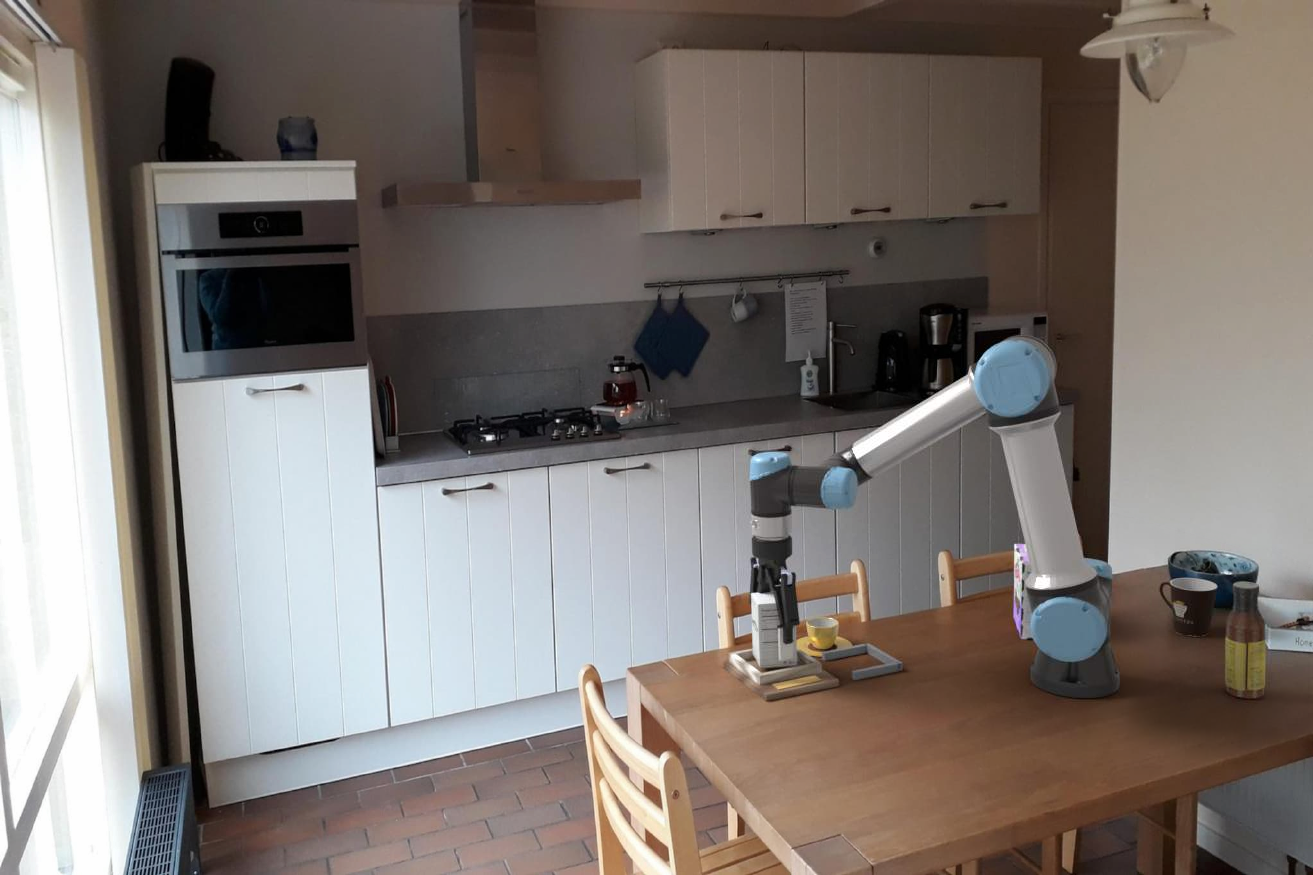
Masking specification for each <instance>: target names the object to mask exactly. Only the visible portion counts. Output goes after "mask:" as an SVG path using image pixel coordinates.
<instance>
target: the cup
mask: <svg viewBox="0 0 1313 875" xmlns="http://www.w3.org/2000/svg"><path fill="white" fill-rule="evenodd" d="M805 624H806V631H807V635H808V636H807V635H806V636H804V637H801V638H799V639H796V642H797V648H799V649H800V650H802V651H803V652H805V653H806V654H808V655H809V656H811V657H819V658H820V657H821V658H822V652H823V651H817V650H816V651H815V650H812V649H810V648H809V645H810V644H812V645H813V647H814V648H815V649H818V650H829V649H831V648H832V647H833V646H834V645H835V646H836V649H840V648H845V647H850V646H854V645H853V643H852V642H851V641H849V640H848V639H846V638H843V637H840V636H838V632H839V624H840V621H838V619H835V618H832V617H829V616H828V617H826V616H816V617H812V618H809V619H807V620H806V621H805Z"/></svg>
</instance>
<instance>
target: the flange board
mask: <svg viewBox="0 0 1313 875" xmlns="http://www.w3.org/2000/svg"><path fill="white" fill-rule="evenodd" d="M722 663H723V664H722V665H723V669H724V670H726V671H727V672H728V673H730V674H731V675H732V676H733V677H735V678H736V679H737V680H738V681H740V682H741V683H742V684H744V685H745V686H746V687H747V686H748V687H747V688H749V689H750V690H752V692H754V693H755V694H757V696H759V697H760V698H761V699H762V700H764V701H766V702H770V701H774V700H778V699H784V698H788V697H792V696H793V695H794V696H798V695H803V694H807V692H808V693H812V692H816V691H823V690H826V689H832V688H836V687H839V686H840V680H839V678H837V677H835V676H834V675H833V674H830V673H829V672H827V671H826V670H825V669H823V668H822V666H823V665H822V663H821V662H820V661H819V660H817V659H815V658H814V657H813V656H810V655H808V654H806V653H805V652H803V651H802V650H800V649H799V648H797V665H795V666H784V667H770V668H760V666H759V664H758V662H757V660H756V658H755V657H754V655H753V647H752V648H748V649H743V650H736V651H731V652H728V660H726V661H722ZM794 696H793V697H794Z"/></svg>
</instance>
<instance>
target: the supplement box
mask: <svg viewBox="0 0 1313 875" xmlns="http://www.w3.org/2000/svg"><path fill="white" fill-rule="evenodd" d="M777 625H780V621H779V616H778V612H777V607H776V603H775V598H774V593H773V592H772V591H771V592H766V593H751V634H752V635H751V639H752V640H751V641H752V642H751V643H752V648H753V655H754V657H755V658H756V660H757V662H758V664H759V666H760V668H770V667H784V666H795V665H797V642H796V640H797V626H793V658H792V659H787V660H782V661H780V660H779V653H778V627H777Z"/></svg>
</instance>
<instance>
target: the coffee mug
mask: <svg viewBox="0 0 1313 875" xmlns="http://www.w3.org/2000/svg"><path fill="white" fill-rule="evenodd" d="M1165 586H1168V587H1170V588H1169V590H1170V600H1171V602H1169V600H1168V599H1167V598H1166V596H1165V594H1164V590H1163V589H1164V587H1165ZM1217 590H1218V585H1217V584H1216V583H1215V582H1214V581H1210V580H1208V579H1207V580H1206V579H1202V578H1195V577H1180V578H1179V577H1178V578H1174V579H1171V580H1170V581H1164V582H1161V583H1160V585H1159V591H1158V592H1159V594H1160V596H1161V598H1162V600H1163V601H1164V603H1165V604H1166V605H1167V606H1168V607H1169V608H1170V610H1171V611H1172V621H1173V622H1172V623H1173V624H1172V625H1173V631H1174V630H1175V631H1176V632H1178V633H1181V634H1183V635H1192V636H1194V635H1195V636H1202V635H1207V634H1208V633H1209V634H1210V629H1211V625H1212V619H1213V613H1214V608H1215V601H1216V596H1217ZM1175 631H1174V632H1175ZM1176 632H1175V633H1176ZM1183 635H1182V636H1183Z"/></svg>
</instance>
